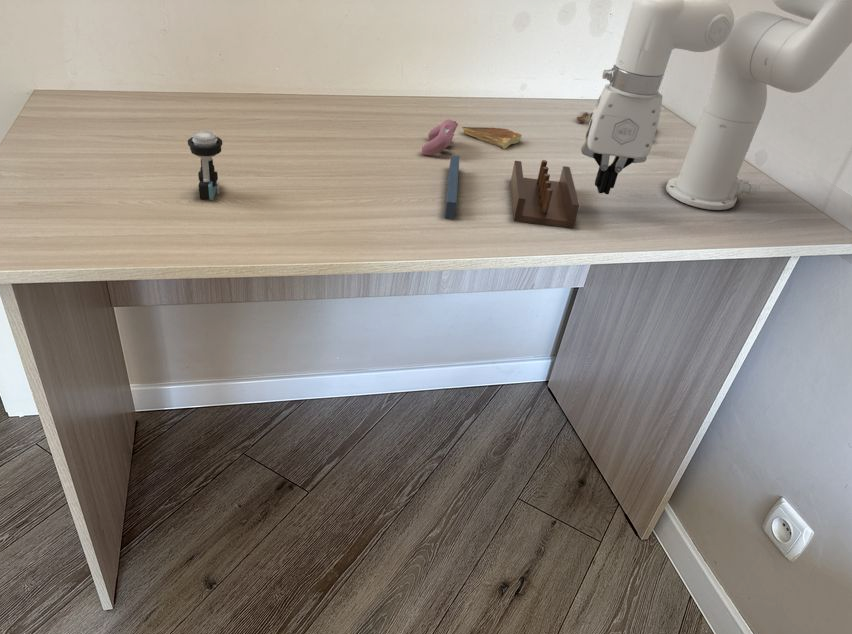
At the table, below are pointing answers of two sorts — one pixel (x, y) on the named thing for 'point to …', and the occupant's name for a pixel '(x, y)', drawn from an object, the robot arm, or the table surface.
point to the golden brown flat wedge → (494, 135)
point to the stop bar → (452, 187)
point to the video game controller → (440, 137)
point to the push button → (206, 161)
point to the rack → (544, 197)
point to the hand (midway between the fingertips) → (602, 190)
